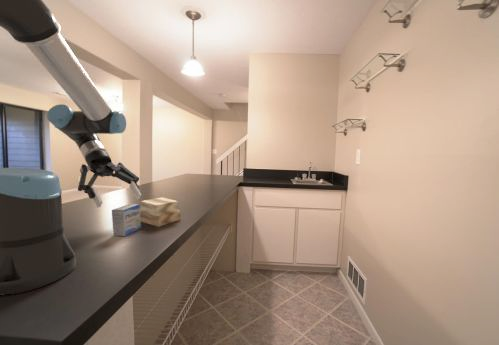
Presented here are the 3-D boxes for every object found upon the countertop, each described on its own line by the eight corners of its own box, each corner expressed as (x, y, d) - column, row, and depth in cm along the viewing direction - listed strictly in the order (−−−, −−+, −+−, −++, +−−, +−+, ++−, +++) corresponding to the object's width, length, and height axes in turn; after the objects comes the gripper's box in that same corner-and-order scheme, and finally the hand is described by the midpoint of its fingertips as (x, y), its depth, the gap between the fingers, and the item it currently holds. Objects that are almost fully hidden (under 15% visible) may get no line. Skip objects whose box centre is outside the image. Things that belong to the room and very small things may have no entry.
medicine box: (125, 237, 73) (123, 210, 72) (112, 235, 74) (111, 209, 73) (141, 228, 81) (140, 204, 80) (130, 227, 82) (128, 203, 81)
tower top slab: (156, 216, 83) (156, 205, 82) (141, 211, 89) (140, 201, 89) (178, 211, 90) (178, 201, 89) (162, 206, 96) (161, 197, 96)
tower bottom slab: (158, 227, 83) (158, 216, 82) (138, 221, 89) (138, 211, 89) (180, 220, 91) (180, 210, 91) (161, 215, 97) (160, 206, 97)
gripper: (125, 161, 98) (148, 200, 92) (52, 164, 77) (76, 215, 71) (132, 148, 95) (156, 188, 89) (57, 149, 74) (83, 201, 68)
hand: (121, 200), depth 80 cm, fingers open, 13 cm apart
